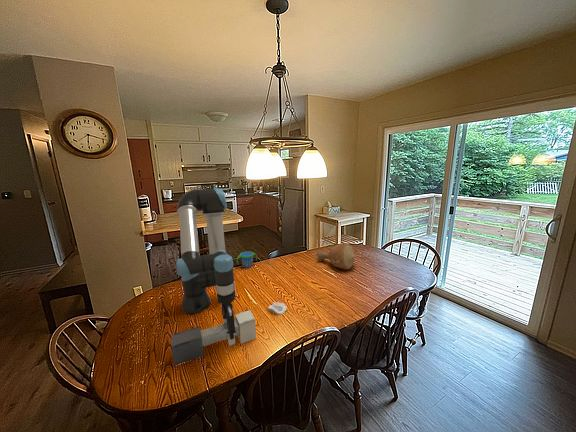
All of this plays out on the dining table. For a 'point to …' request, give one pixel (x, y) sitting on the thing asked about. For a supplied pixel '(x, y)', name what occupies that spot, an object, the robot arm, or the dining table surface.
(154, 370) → the dining table surface
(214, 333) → the pale grey rectangular box
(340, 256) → the jug
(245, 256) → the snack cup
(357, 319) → the dining table surface
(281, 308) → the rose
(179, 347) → the dark grey rectangular box
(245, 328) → the socket
